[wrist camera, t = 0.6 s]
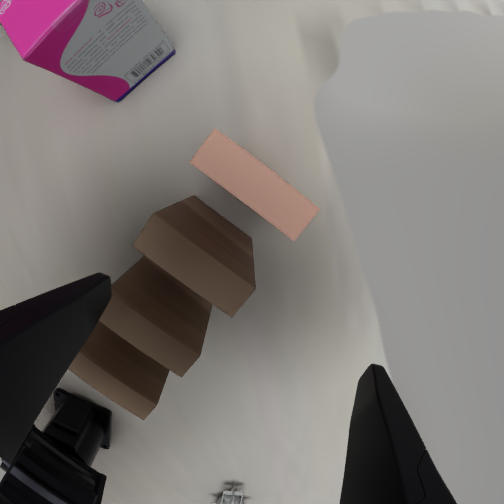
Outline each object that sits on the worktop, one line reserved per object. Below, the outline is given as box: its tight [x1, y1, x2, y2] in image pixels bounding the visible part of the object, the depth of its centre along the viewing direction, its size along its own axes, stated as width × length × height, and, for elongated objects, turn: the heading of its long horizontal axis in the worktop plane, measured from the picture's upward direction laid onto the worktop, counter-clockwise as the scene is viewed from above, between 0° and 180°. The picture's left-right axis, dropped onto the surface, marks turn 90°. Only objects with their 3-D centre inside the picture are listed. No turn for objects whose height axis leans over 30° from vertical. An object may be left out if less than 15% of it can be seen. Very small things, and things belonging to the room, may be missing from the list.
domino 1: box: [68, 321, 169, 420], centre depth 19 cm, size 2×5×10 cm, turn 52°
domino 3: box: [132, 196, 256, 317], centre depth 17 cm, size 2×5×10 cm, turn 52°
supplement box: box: [0, 0, 176, 102], centre depth 13 cm, size 6×6×12 cm
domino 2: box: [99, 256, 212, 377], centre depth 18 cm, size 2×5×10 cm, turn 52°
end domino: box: [189, 129, 320, 241], centre depth 17 cm, size 2×5×10 cm, turn 52°
